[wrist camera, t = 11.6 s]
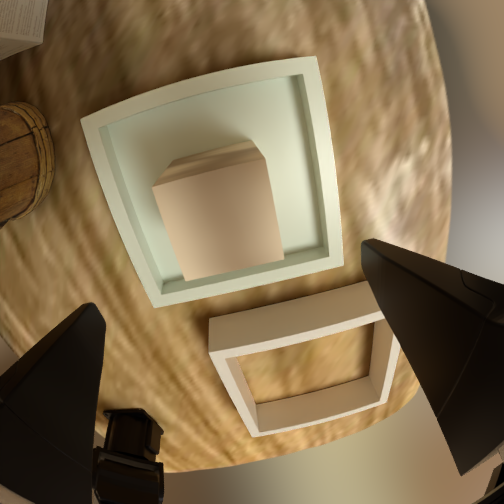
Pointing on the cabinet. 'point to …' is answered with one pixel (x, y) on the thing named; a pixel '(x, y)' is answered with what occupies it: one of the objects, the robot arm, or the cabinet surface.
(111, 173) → the sage tray
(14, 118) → the wooden mug
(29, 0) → the product box
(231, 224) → the birch block
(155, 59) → the cabinet surface
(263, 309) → the white square frame
